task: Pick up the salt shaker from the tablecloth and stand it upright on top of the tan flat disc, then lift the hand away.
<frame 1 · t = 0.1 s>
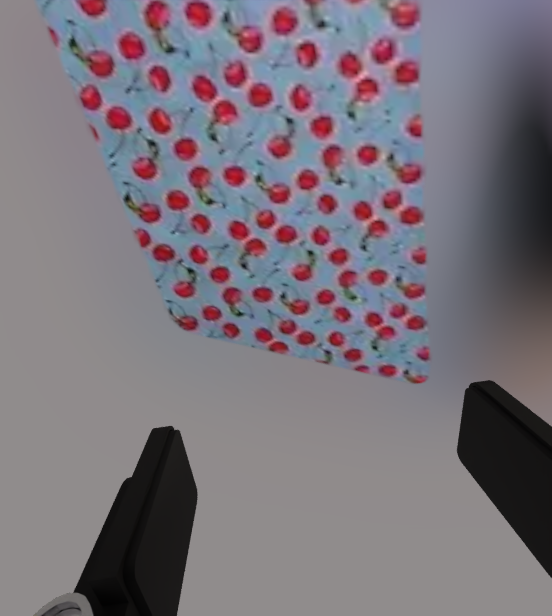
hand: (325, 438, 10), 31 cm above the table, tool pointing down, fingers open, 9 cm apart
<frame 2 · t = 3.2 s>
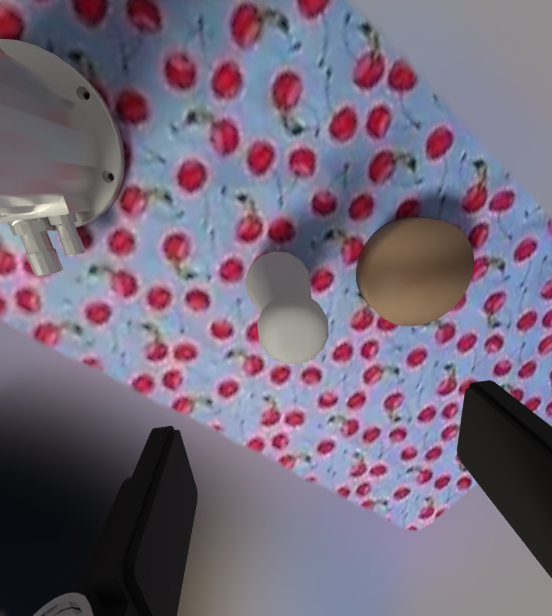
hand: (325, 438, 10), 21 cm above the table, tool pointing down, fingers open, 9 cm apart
salt shaker: (275, 275, 29), on the table
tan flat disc: (404, 268, 30), on the table
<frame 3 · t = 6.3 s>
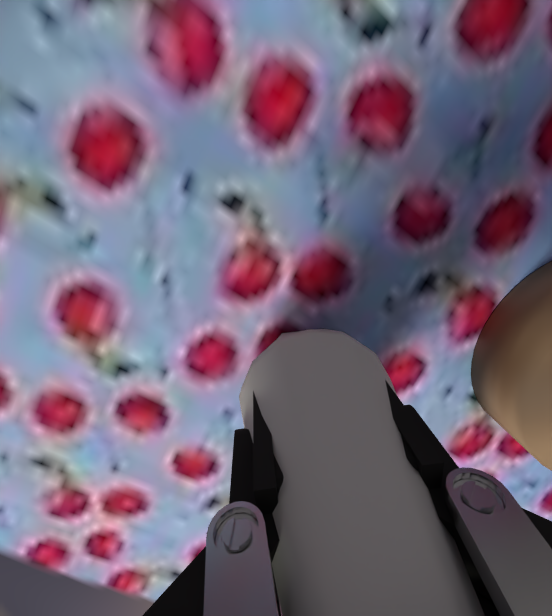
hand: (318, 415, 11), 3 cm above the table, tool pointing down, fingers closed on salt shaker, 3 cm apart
salt shaker: (304, 365, 14), on the table, touching gripper
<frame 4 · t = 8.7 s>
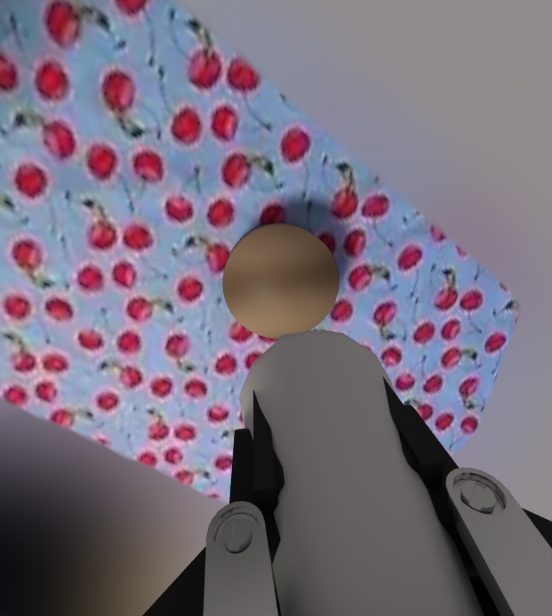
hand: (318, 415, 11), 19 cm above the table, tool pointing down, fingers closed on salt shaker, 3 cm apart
salt shaker: (304, 366, 14), point 16 cm above the table, touching gripper
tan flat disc: (278, 277, 29), on the table
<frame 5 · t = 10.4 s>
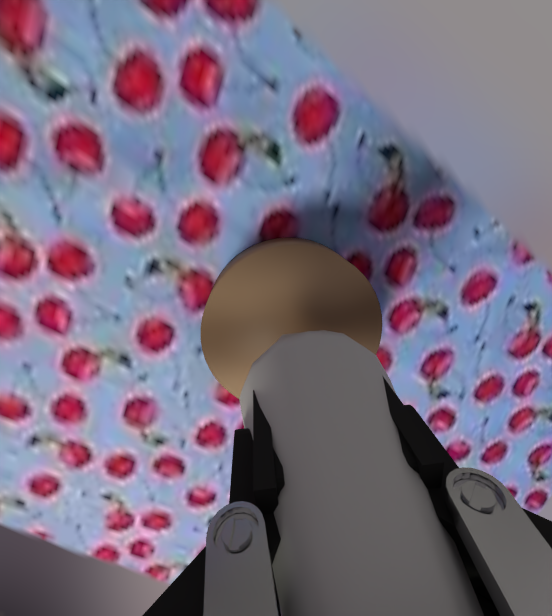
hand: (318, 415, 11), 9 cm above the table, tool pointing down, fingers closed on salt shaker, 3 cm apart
salt shaker: (304, 366, 14), point 6 cm above the table, touching gripper
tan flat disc: (287, 316, 19), on the table
when the fingers open (7 cm above the table, at t = 11.5 s): salt shaker stays where it is, resting on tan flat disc.
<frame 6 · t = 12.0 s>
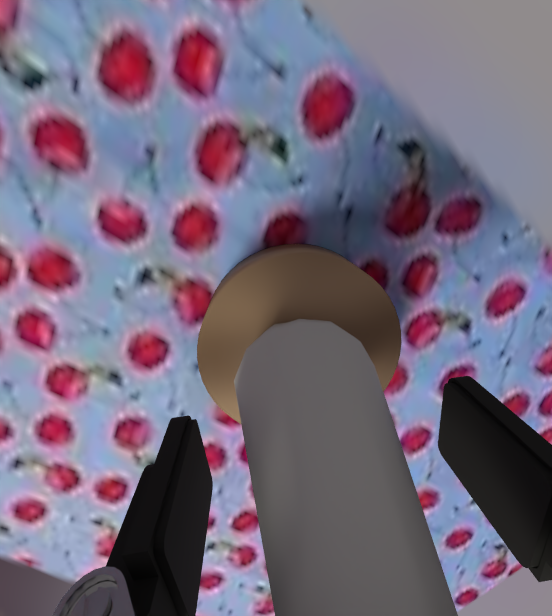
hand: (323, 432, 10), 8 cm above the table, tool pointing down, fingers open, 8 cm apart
salt shaker: (296, 354, 15), point 3 cm above the table, touching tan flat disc
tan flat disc: (293, 330, 18), on the table
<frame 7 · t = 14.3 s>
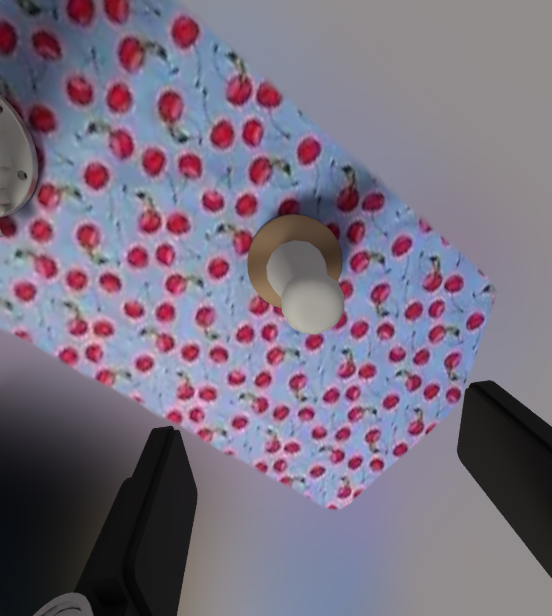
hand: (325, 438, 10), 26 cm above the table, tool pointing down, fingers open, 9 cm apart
salt shaker: (293, 264, 32), point 3 cm above the table, touching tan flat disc
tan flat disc: (292, 259, 34), on the table
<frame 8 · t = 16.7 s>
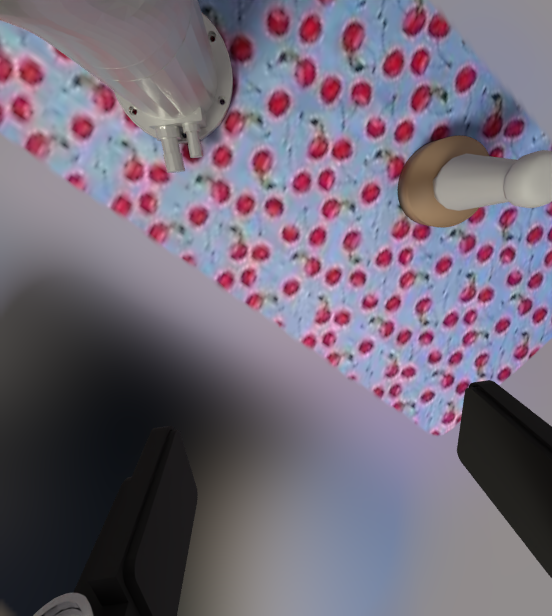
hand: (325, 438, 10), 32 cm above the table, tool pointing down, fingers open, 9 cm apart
salt shaker: (448, 183, 36), point 3 cm above the table, touching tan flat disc
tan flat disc: (436, 184, 38), on the table
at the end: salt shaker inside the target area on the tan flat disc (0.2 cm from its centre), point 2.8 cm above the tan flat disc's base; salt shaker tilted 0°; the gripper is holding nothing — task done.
